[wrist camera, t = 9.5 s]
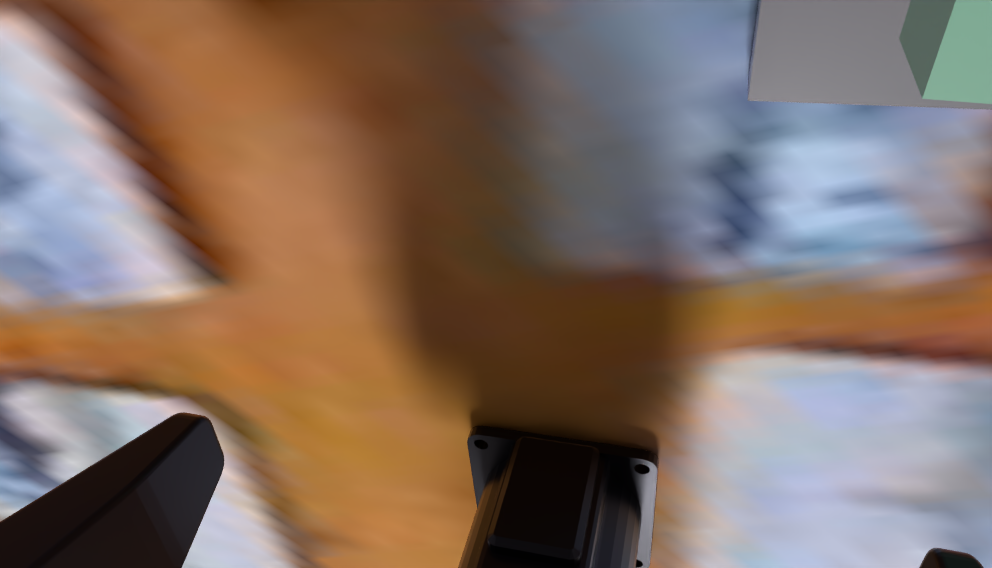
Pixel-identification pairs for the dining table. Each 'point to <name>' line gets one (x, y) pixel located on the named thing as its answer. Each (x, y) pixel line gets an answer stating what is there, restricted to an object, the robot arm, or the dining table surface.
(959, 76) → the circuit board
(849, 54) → the chassis
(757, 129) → the dining table surface
